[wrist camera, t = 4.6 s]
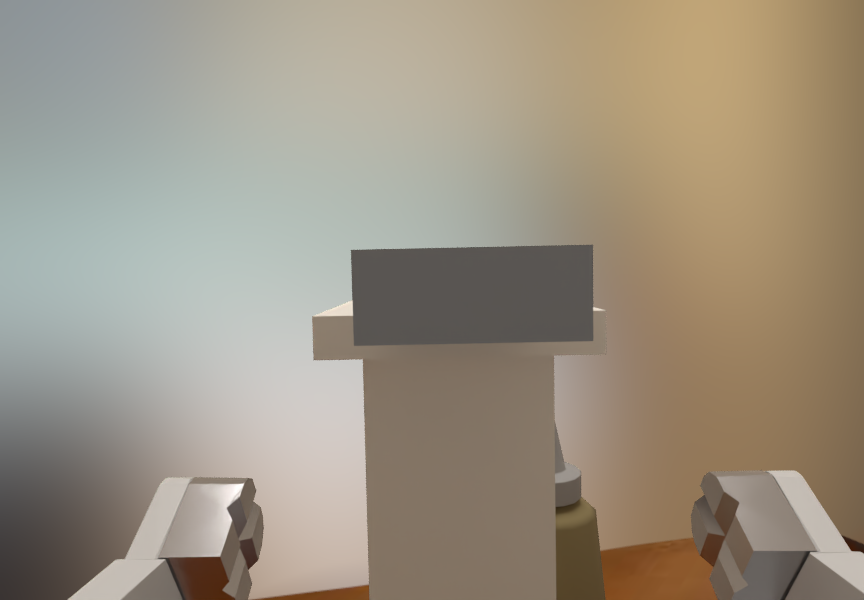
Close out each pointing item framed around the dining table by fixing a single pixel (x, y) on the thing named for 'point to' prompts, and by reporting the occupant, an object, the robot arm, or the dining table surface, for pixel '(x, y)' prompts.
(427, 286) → the cover
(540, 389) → the stand
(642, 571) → the dining table surface
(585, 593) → the squeeze bottle
